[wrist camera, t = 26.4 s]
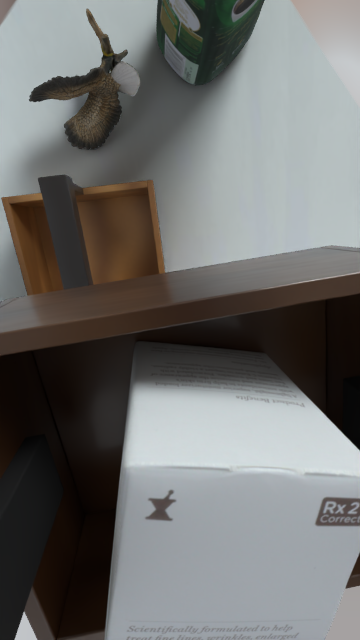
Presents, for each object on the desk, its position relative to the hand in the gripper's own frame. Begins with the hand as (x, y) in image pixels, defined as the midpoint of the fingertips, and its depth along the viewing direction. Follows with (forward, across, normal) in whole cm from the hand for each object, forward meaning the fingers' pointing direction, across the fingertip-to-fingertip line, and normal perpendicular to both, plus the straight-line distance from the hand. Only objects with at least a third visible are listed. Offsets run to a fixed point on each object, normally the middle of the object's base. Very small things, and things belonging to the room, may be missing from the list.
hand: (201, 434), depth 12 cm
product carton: (+3, 0, 0) cm, 3 cm away
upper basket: (+28, -7, +6) cm, 29 cm away
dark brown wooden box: (+3, 0, 0) cm, 3 cm away
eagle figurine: (+28, -4, +21) cm, 35 cm away
